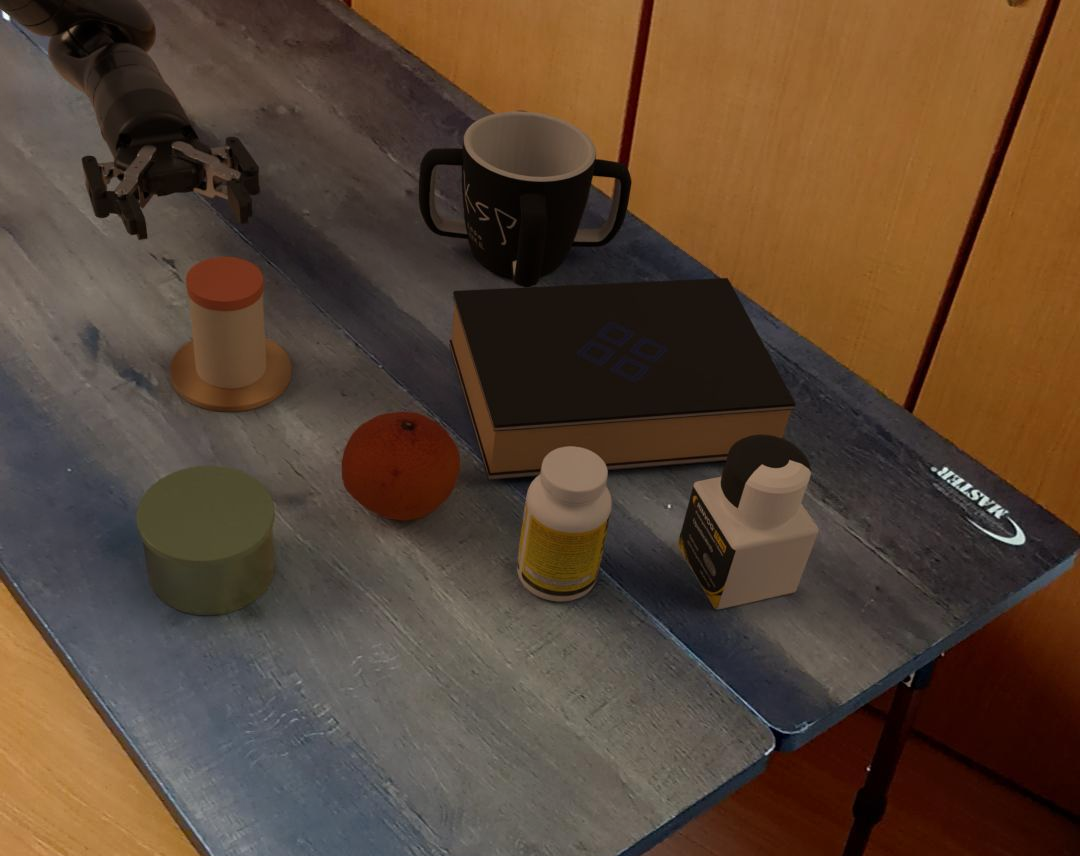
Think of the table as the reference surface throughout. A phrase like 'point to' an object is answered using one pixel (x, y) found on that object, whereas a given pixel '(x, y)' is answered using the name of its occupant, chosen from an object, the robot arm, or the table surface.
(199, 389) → the coaster
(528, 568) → the pill bottle
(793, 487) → the medicine bottle
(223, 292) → the canister
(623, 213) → the mug
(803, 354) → the table surface
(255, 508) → the tin
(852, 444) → the table surface
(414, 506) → the fruit
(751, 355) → the book
